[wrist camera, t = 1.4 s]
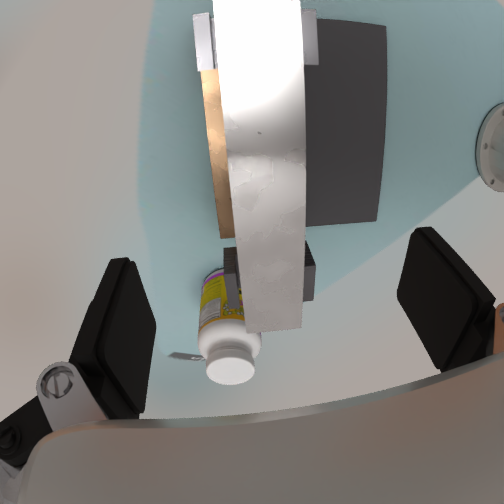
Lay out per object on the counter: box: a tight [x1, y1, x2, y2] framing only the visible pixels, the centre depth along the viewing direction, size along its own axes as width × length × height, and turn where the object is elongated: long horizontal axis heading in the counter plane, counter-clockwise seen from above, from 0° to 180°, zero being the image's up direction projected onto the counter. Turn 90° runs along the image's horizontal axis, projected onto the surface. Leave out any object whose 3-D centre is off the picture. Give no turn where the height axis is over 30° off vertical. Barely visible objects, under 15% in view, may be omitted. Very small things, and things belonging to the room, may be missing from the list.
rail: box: [213, 0, 306, 334], centre depth 18 cm, size 4×22×4 cm, turn 4°
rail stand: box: [193, 9, 319, 309], centre depth 23 cm, size 8×22×14 cm, turn 4°
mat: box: [304, 19, 387, 227], centre depth 29 cm, size 10×22×1 cm, turn 4°
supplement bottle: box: [198, 269, 262, 385], centre depth 34 cm, size 7×7×13 cm
